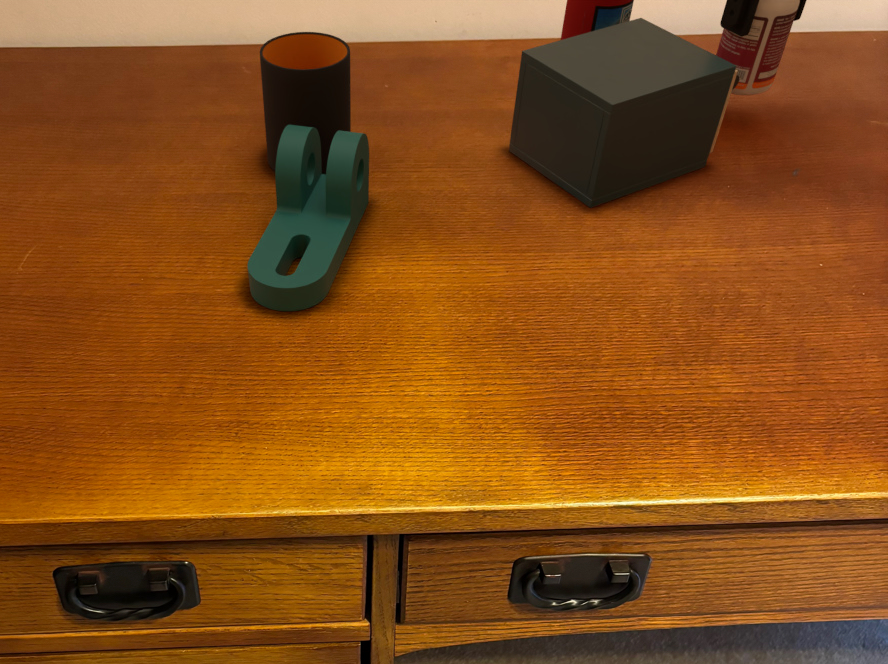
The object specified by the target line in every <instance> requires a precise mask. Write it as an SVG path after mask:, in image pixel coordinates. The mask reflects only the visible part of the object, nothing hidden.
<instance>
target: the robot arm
mask: <svg viewBox="0 0 888 664" xmlns="http://www.w3.org/2000/svg"><path fill="white" fill-rule="evenodd" d="M758 3H759V0H726V2H725V5H724V9H723V11H722V12H723V13H722V16H721V18H720V22H719V23H720V27H721V28H722V29H727V30H729V31H731V32H733V33H735V34H737V35H739V36H741V37H742V36H746V35H748V34H749V32H750V29H751V25H752V22H753V19H754V16H755V13H756V10H757V6H758ZM806 4H807V0H800V3H799V6H798V9H797V12H796V15H795V18H794V21H793V22H796V21H799V20H800V19H801V18H802V15H803V12H804V9H805V6H806Z"/></svg>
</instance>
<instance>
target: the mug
mask: <svg viewBox="0 0 888 664" xmlns="http://www.w3.org/2000/svg"><path fill="white" fill-rule="evenodd" d="M259 64H260V76H261V90H262V103H263V116H264V127H265V129H264V131H265V141H266V143H265V144H266V155H267V163H268V166H269V167H270V168H271V170H272V171H273V172H275V168H276V157H277V151H278V146H279V142H280V138H281V135H282V133H283V130H284V129H285V127H286V126H287V125H297V126H305V127H314V128H316V129H317V130H318V133H319V136H320V143H321V165H322V174H326V170H327V162H328V156H329V151H330V147H331V143H332V140H333V138H334V135H335V134H336V132H337V131H339V130H340V131H348V132H352V130H351V129H352V127H351V125H352V123H351V120H352V119H351V118H352V117H351V116H352V115H351V112H352V111H351V110H352V109H351V108H352V107H351V106H352V103H351V102H352V101H351V100H352V99H351V49H350V46H349V44H348V43H347V42H346V41H345V40H343V39H342V38H340V37H338V36H335V35H331V34H328V33H324V32H317V31H295V32H289V33H284V34H280V35H278V36H275V37H273V38H271V39H269V40H267V41H266V42H264V43H263V44H262V46H261V47H260V49H259Z"/></svg>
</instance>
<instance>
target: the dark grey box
mask: <svg viewBox="0 0 888 664" xmlns="http://www.w3.org/2000/svg"><path fill="white" fill-rule="evenodd" d="M519 63H520V64H519V71H518V77H517V78H518V79H517V86H516V92H515V93H516V94H515V100H514V108H513V115H512V124H511V129H510V130H511V131H510V138H509V146H508V151H509V152H510V153H511V154H513V155H514V156H516V157H517V158H519V159H520V160H522V162H524V163H525V164H528V166H530V167H531V168H533V169H534V170H535V171H537V172H539V173H540V174H541V175H542V176H544V177H545V178H547V179H548V180H550V181H551V182H553V183H554V184H555V185H557V186H558V187H560V188H561V189H563V190H564V191H565V192H567V193H568V194H570V195H571V196H572V197H574V198H575V199H577V200H578V201H580V203H582V204H584V205H585V206H586V207H588V208H589V209H593V208H595V207H597V206H600V205H604V204H606V203H609V202H611V201H614V200H617V199H620V198H623V197H625V196H627V195H631V194H633V193H636V192H639V191H642V190H644V189H648V188H651V187H653V186H655V185H658V184H662V183H664V182H667V181H670V180H673V179H675V178H679V177H680V176H684V175H686V174H687V175H688V174H689V173H692V172H694V171H698V170H700V169H703V168H705V167H706V165H707V162H708V159H709V155H710V154H711V153H710V150H711V147H712V143H713V140H714V137H715V134H716V131H717V127H718V124H719V121H720V118H721V114H722V111H723V108H724V105H725V102H726V98H727V95H728V92H729V89H730V85H731V82H732V79H733V76H734V73H735V70H736V67H737V66H736V65H734V64H732V63H730V62H728V61H726V60H724V59H722V58H720V57H718V56H716V54H715V53H712V52H710V51H709V50H706V49H704V48H702V47H700V46H698V45H696V44H694V43H693V42H690V41H688V40H686V39H684V38H682V37H681V36H678V35H676V34H675V33H672V32H670V31H669V30H666V29H665V28H662V27H661V26H659V25H657V24H654V23H652V22H650V21H649V20H647V19H645V18H643V17H639V18H635V19H632V20H630V21H628V22H624V23H621V24H617V25H613V26H610V27H606V28H603V29H599V30H595V31H592V32H588V33H585V34H581V35H577V36H574V37H570V38H567V39H563V40H561V39H560V40H556V41H552V42H550V43H545V44H542V45H538V46H535V47H532V48H528V49H523V50H522V51H521V56H520V62H519Z"/></svg>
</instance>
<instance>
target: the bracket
mask: <svg viewBox="0 0 888 664" xmlns="http://www.w3.org/2000/svg"><path fill="white" fill-rule="evenodd" d="M369 143H370V142H369V138H368V135H367V134H366V133H365V132H355V131H351V132H348V131H340V130H339V131H337V132H336V134H335V135H334V138H333V140H332V143H331V147H330V151H329V156H328V162H327V170H326V174H322V165H321V143H320V136H319V133H318V130H317V129H316V128H314V127H305V126H297V125H287V126H286V127H285V129H284V130H283V133H282V135H281V138H280V142H279V146H278V151H277V157H276V168H275V171H274V174H275V175H274V179H275V181H274V183H275V196H276V210H275V212H274V214H273V216H272V218H271V219H270V221H269V223H268V224H267V226H266V228H265V230H264V232H263V233H262V235H261V237H260V239H259V241H258V243H257V244H256V246H255V248H254V250H253V252H252V253H251V255H250V257H249V259H248V261H247V275H248V283H249V292H250V295H251V298H252V299H253V300H254V301H255V302H256V303H257V304H259V305H260V306H262V307H264V308H267V309H269V310H274V311H278V312H297V311H302V310H303V311H304V310H306V309H309V308H312V307H315V306H316V305H318V304H320V303H321V302H322V301H324V300H325V299H326V297H327V296H328V294H329V292H330V291H331V288H332V286H333V283H334V281H335V279H336V277H337V274H338V272H339V269H340V268H341V265H342V263H343V262H344V261H343V260H344V259H345V256H346V255H347V251H348V250H349V248H350V245H351V244H352V243H351V242H352V240H353V238H354V236H355V234H356V232H357V229H358V227H359V225H360V222H361V221H362V218H363V216H364V214H365V211H366V209H367V207H368V205H369V202H370V201H369V200H370V144H369ZM300 258H301V259H300ZM297 259H300V261H299V263H298V265H297V267H296V269H295V271H294V272H293V273H292V274H288V272H289V270H290V268H291V266H292V264H293V262H294V261H295V260H297Z"/></svg>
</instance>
